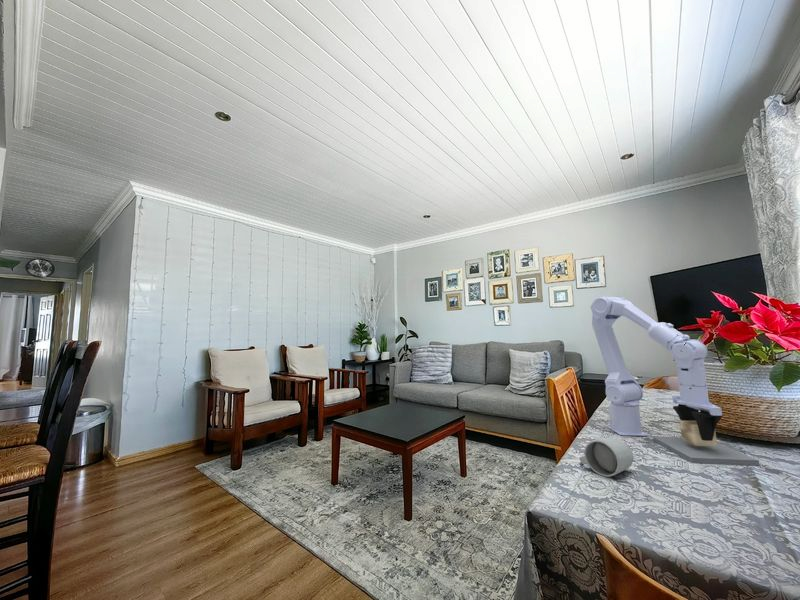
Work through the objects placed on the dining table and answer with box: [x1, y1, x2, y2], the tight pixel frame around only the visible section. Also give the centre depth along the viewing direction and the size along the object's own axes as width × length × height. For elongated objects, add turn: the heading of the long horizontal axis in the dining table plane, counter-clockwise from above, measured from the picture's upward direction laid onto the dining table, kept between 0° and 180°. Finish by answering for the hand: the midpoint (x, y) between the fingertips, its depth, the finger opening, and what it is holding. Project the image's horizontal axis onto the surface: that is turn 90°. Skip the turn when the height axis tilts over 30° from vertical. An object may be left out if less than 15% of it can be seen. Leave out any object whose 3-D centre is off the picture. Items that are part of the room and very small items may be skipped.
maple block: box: [679, 420, 718, 446], centre depth 85 cm, size 5×5×5 cm
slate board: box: [652, 436, 760, 466], centre depth 85 cm, size 16×14×1 cm
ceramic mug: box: [579, 437, 634, 478], centre depth 77 cm, size 11×8×8 cm
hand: (698, 436), depth 85 cm, fingers closed on maple block, 5 cm apart
